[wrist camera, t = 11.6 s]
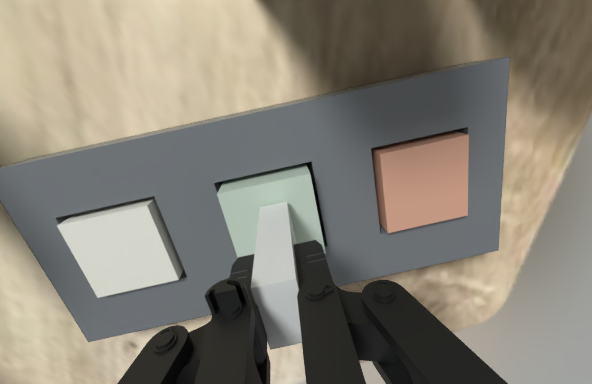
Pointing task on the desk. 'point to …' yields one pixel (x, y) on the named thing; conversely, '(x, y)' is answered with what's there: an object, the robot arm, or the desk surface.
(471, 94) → the keypad
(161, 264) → the cream key
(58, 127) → the desk surface
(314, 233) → the sage key
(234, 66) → the desk surface
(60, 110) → the desk surface
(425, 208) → the terracotta key
